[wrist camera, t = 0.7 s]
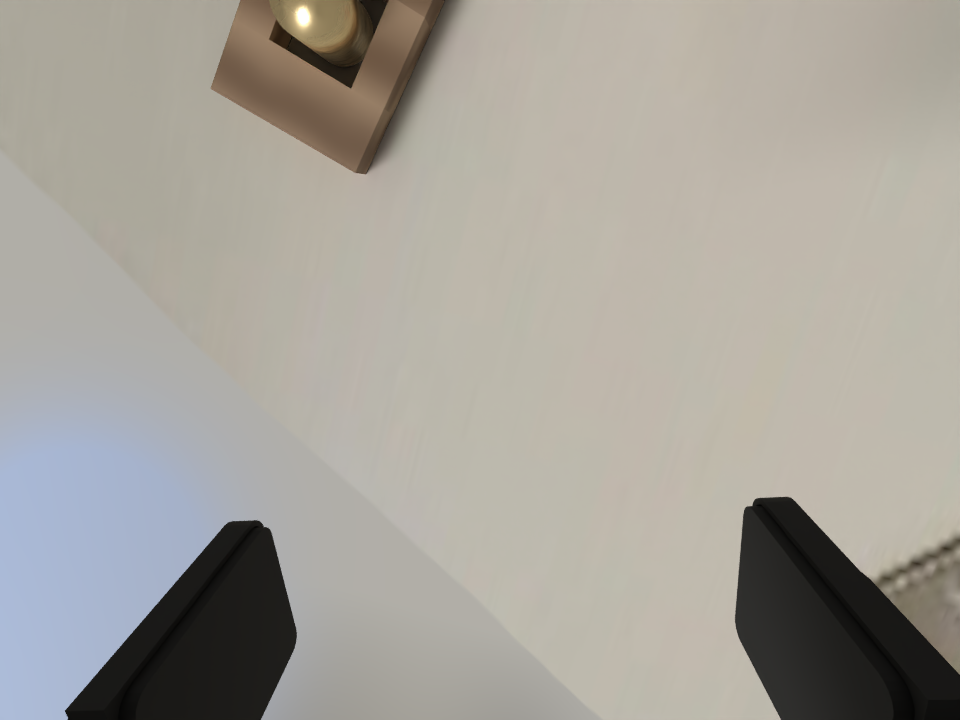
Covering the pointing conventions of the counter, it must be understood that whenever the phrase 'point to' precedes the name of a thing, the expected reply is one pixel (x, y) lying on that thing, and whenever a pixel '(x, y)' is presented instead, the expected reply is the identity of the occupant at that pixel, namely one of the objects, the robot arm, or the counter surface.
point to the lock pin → (328, 27)
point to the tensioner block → (324, 79)
